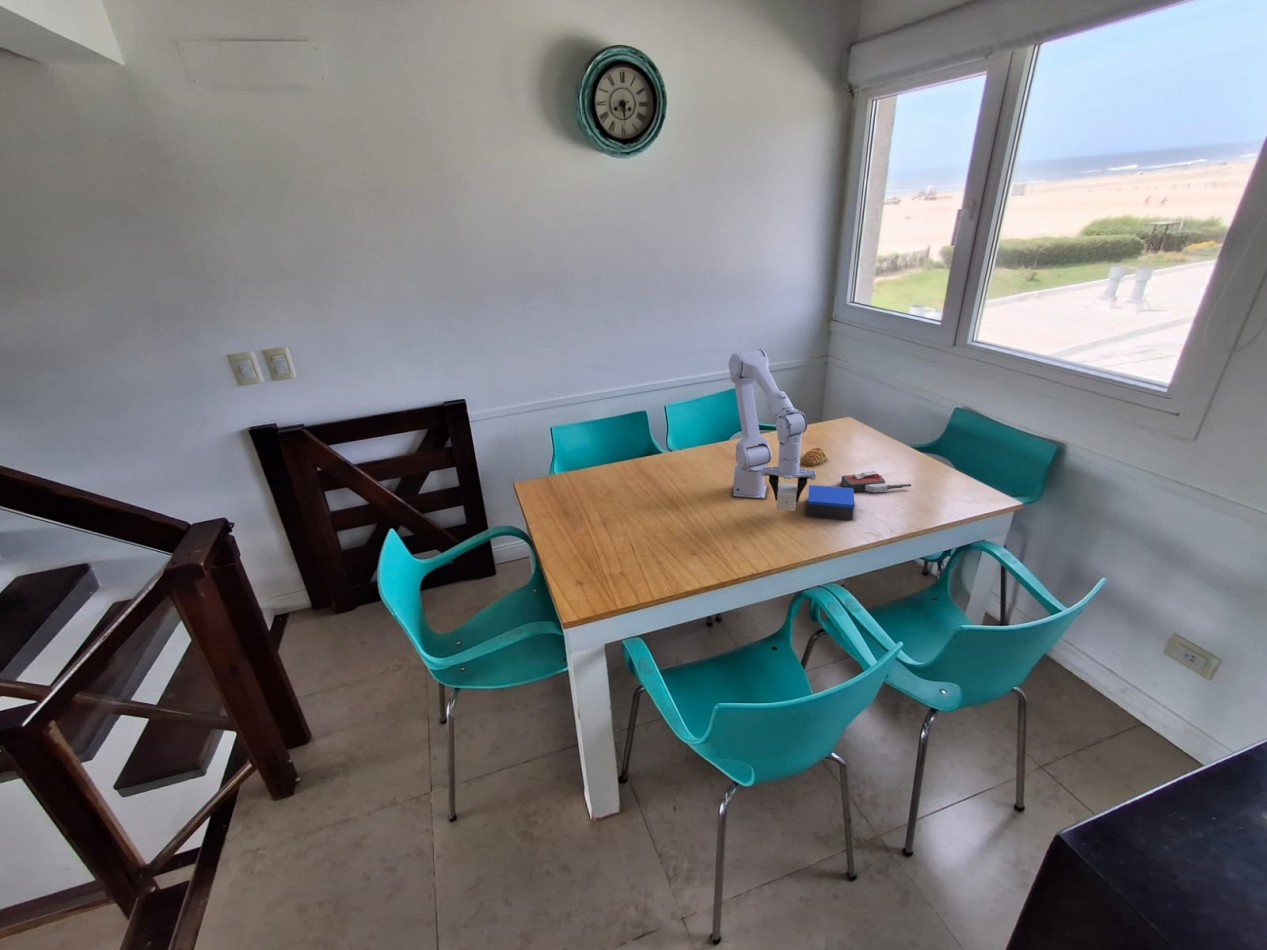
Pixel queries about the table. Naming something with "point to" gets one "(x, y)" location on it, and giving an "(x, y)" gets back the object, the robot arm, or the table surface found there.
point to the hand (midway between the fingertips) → (786, 499)
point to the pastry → (814, 456)
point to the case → (786, 496)
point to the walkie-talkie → (868, 482)
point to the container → (831, 502)
